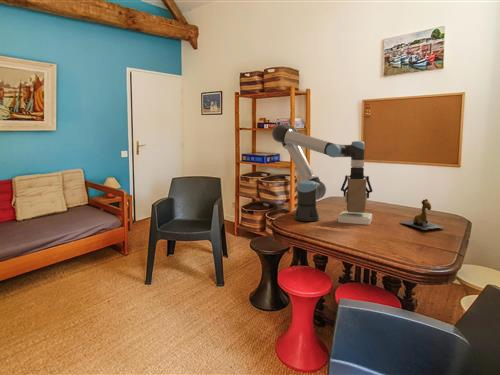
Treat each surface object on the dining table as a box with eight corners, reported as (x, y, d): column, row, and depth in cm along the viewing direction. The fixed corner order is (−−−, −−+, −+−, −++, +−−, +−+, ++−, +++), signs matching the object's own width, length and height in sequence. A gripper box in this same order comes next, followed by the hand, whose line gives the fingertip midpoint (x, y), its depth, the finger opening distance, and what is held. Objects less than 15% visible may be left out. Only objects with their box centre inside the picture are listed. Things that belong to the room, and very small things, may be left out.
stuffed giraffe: (423, 230, 185) (424, 201, 184) (398, 223, 202) (400, 197, 201) (445, 228, 191) (447, 200, 189) (419, 221, 207) (421, 196, 206)
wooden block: (347, 212, 204) (348, 179, 201) (346, 209, 213) (347, 178, 211) (365, 213, 201) (366, 179, 199) (363, 210, 211) (364, 178, 209)
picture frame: (337, 222, 203) (338, 215, 203) (342, 217, 220) (342, 210, 219) (369, 224, 196) (369, 218, 196) (372, 219, 212) (372, 213, 212)
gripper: (336, 166, 206) (335, 202, 208) (377, 167, 196) (375, 205, 199) (338, 166, 213) (337, 200, 215) (378, 167, 203) (376, 203, 205)
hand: (355, 203), depth 207 cm, fingers open, 11 cm apart
